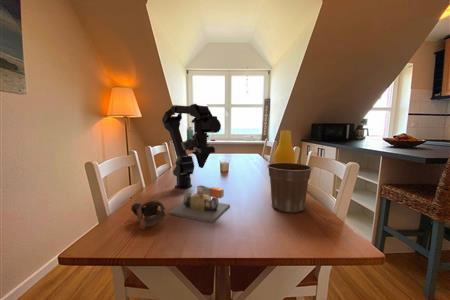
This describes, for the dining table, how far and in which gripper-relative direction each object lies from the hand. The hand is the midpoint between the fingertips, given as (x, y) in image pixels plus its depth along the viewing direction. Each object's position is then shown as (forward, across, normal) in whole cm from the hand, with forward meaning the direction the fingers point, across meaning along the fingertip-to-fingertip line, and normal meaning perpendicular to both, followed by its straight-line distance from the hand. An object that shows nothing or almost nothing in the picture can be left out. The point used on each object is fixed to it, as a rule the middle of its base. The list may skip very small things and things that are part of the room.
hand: (201, 167), depth 94 cm
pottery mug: (+13, +19, -25) cm, 34 cm away
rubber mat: (+13, +17, -6) cm, 22 cm away
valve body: (+13, +17, -6) cm, 22 cm away
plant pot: (+13, +28, +25) cm, 40 cm away
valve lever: (+7, +21, -4) cm, 22 cm away
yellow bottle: (+13, +15, +35) cm, 40 cm away
